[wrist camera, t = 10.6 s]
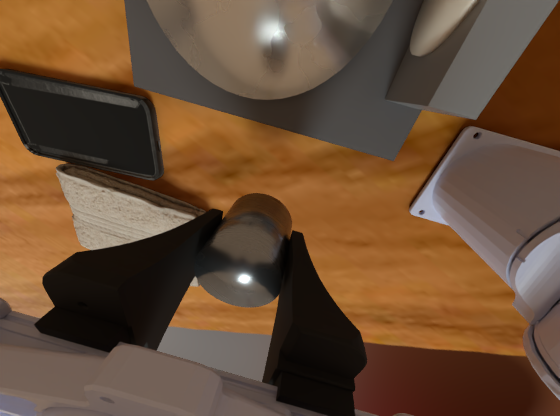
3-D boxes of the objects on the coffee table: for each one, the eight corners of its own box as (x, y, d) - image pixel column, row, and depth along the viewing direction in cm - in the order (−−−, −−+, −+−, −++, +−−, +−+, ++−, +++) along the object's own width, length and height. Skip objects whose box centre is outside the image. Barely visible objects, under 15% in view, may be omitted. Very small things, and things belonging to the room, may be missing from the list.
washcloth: (212, 277, 30) (202, 295, 27) (91, 236, 29) (69, 251, 26) (225, 210, 23) (214, 226, 21) (72, 158, 23) (40, 167, 20)
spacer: (300, 205, 13) (292, 261, 9) (282, 253, 15) (269, 316, 11) (234, 184, 13) (195, 231, 9) (226, 236, 15) (192, 292, 11)
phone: (-15, 65, 18) (147, 98, 17) (2, 67, 19) (156, 98, 18) (27, 154, 22) (160, 183, 21) (39, 151, 23) (167, 179, 22)
